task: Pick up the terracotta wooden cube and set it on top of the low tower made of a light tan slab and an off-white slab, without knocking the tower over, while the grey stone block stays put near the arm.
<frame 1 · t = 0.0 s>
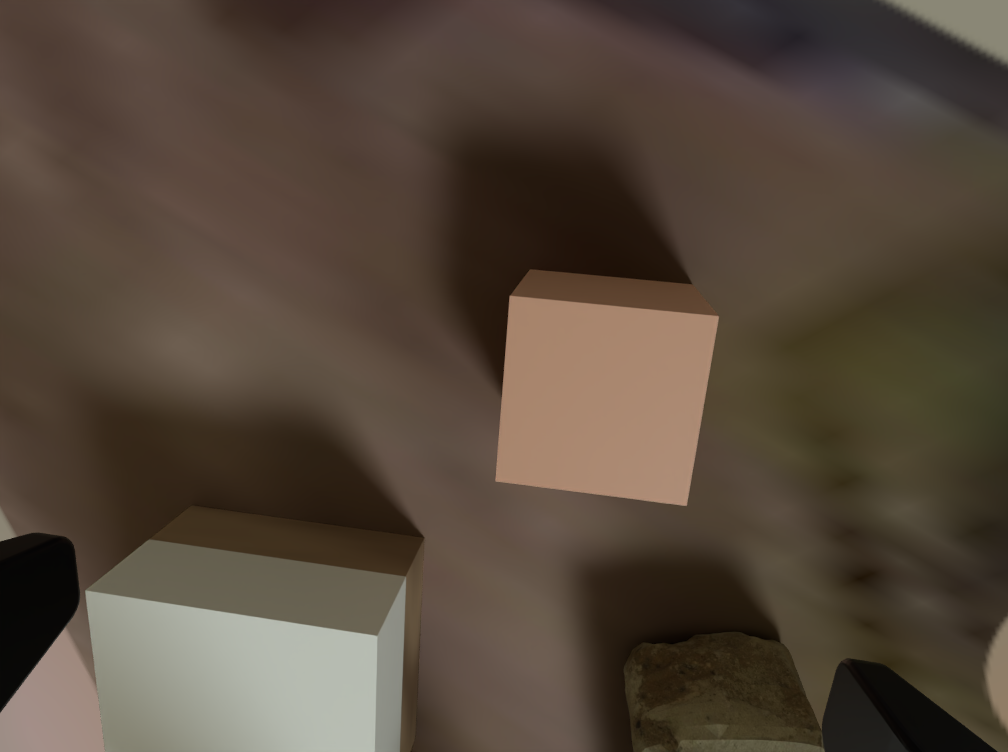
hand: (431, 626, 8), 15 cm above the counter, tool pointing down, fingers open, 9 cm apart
tower top: (277, 669, 24), point 3 cm above the counter
stone block: (714, 747, 26), on the counter
cube: (600, 353, 22), on the counter
tower bottom: (311, 617, 27), on the counter
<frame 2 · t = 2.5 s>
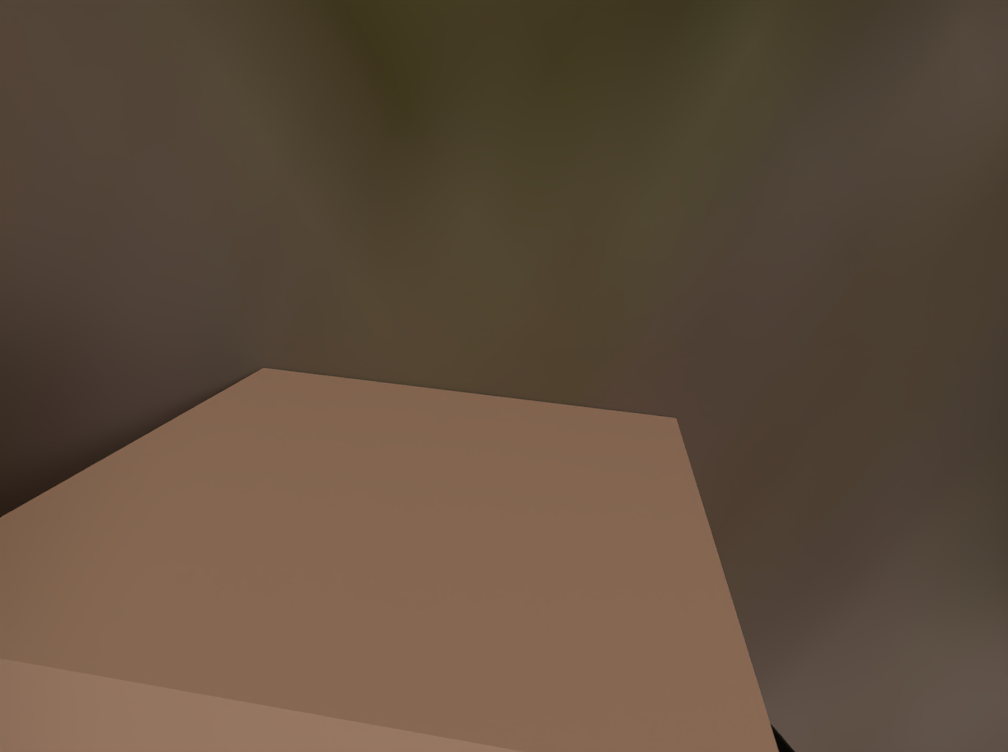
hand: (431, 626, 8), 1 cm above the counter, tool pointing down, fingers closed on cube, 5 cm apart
cube: (450, 574, 9), on the counter, touching gripper
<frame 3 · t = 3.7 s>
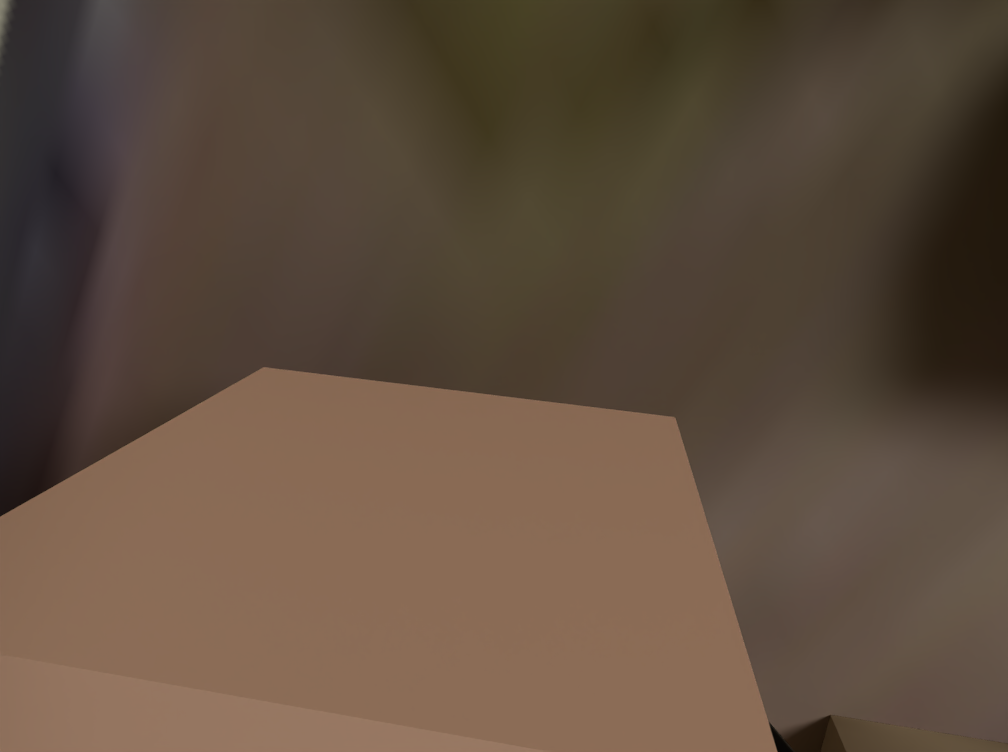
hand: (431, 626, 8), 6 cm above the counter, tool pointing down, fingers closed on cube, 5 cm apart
cube: (450, 572, 9), point 5 cm above the counter, touching gripper
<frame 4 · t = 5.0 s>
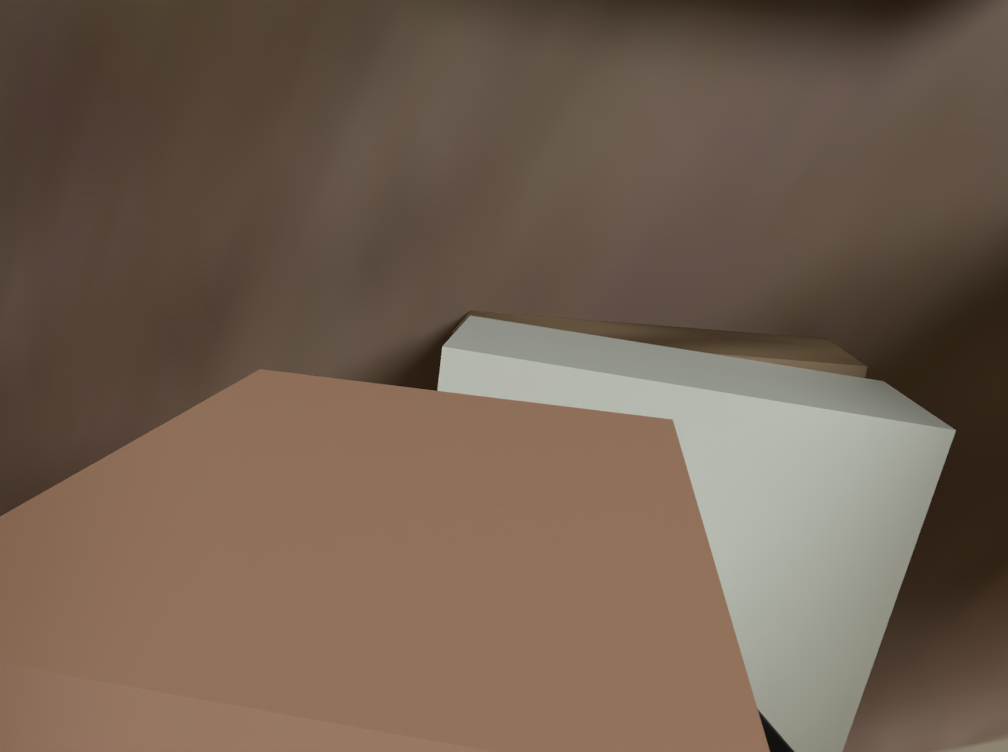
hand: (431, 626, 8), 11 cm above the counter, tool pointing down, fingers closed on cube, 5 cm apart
tower top: (632, 529, 16), point 3 cm above the counter
cube: (447, 575, 9), point 10 cm above the counter, touching gripper
tower bottom: (624, 477, 19), on the counter
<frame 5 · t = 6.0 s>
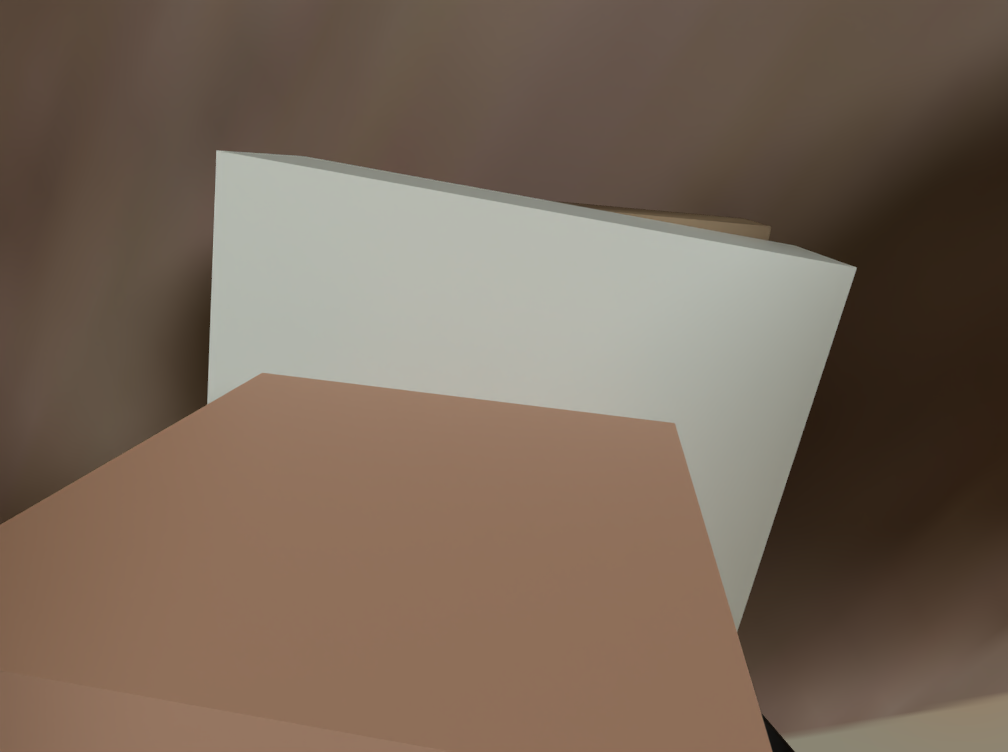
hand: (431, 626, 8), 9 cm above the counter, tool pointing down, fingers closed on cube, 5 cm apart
tower top: (500, 428, 14), point 2 cm above the counter, touching tower bottom
cube: (449, 578, 9), point 7 cm above the counter, touching gripper
tower bottom: (514, 388, 16), on the counter, touching tower top
when the fingers open (8 cm above the counter, at t = 6.6 s): cube drops 2 cm, resting on tower top.
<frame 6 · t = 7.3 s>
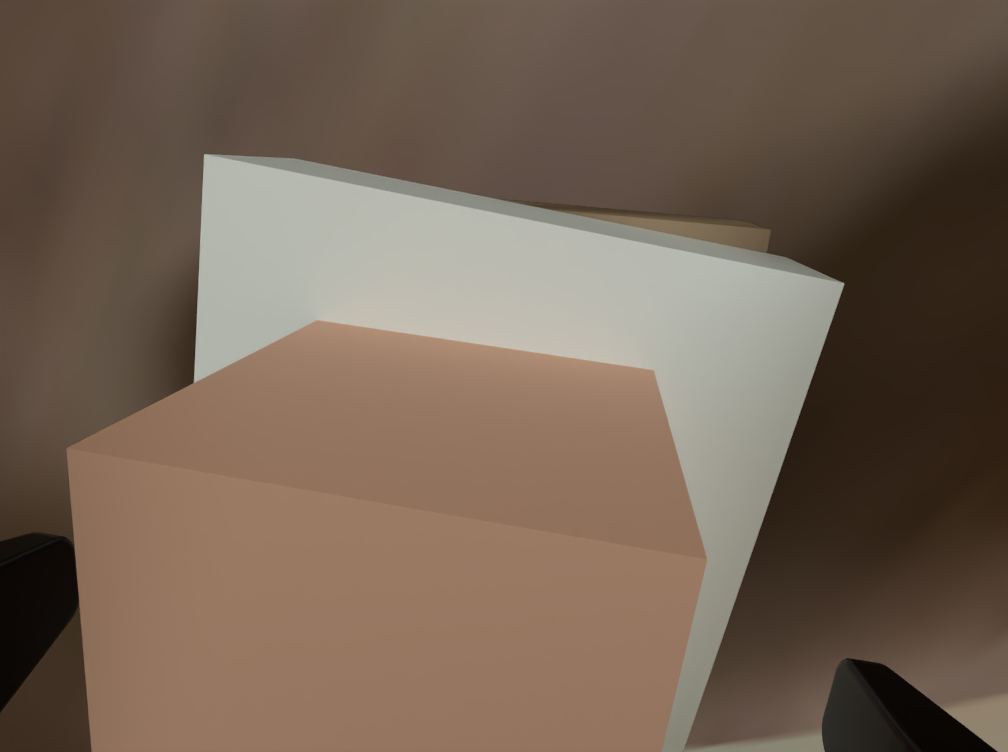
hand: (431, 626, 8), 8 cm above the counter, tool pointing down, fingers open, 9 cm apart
tower top: (489, 434, 13), point 3 cm above the counter, touching cube, tower bottom
cube: (464, 497, 11), point 6 cm above the counter, touching tower top
tower bottom: (513, 391, 16), on the counter, touching tower top
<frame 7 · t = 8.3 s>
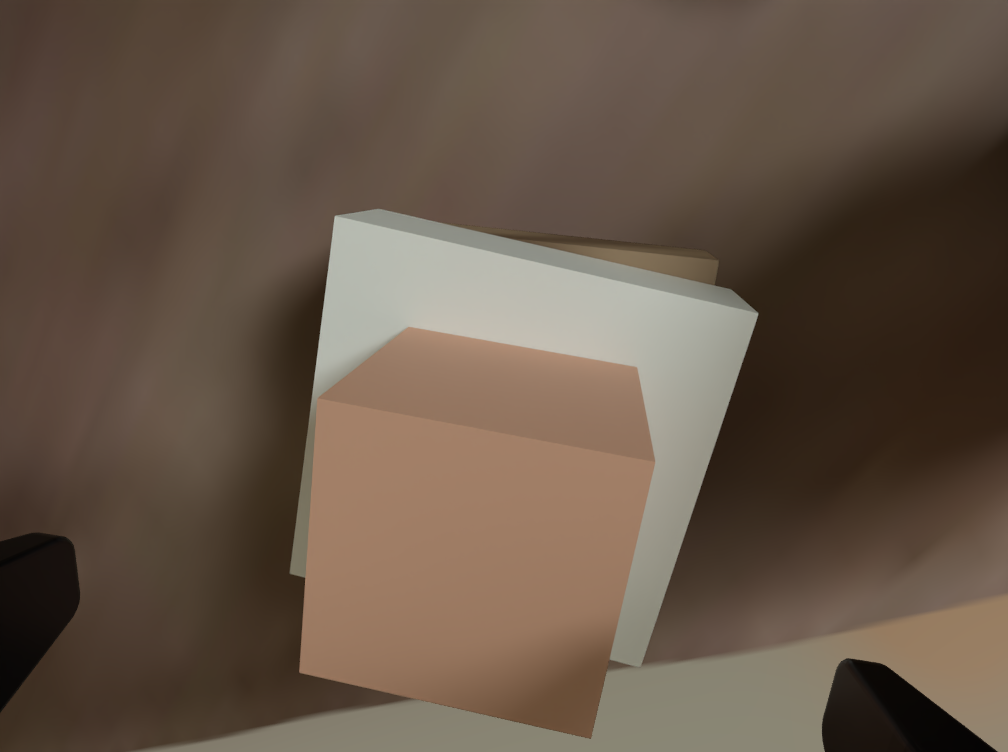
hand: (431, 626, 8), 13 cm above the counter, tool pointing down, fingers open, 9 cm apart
tower top: (514, 413, 18), point 2 cm above the counter, touching tower bottom
cube: (504, 452, 15), point 5 cm above the counter
tower bottom: (528, 378, 21), on the counter, touching tower top
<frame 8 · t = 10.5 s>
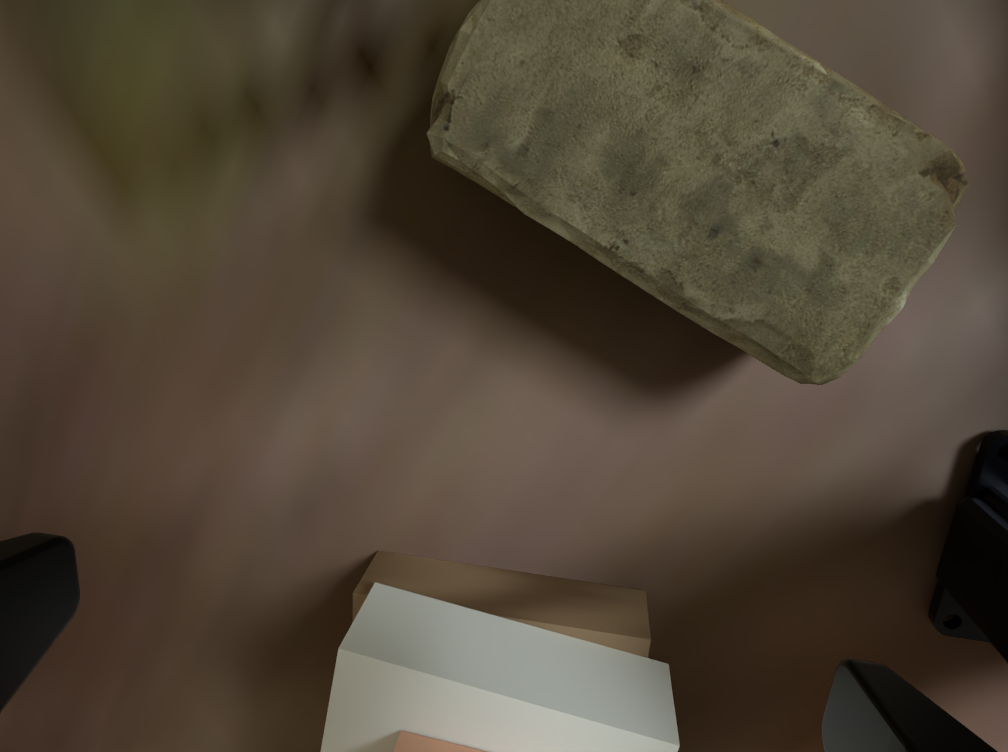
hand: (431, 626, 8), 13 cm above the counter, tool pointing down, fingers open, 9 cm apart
tower top: (488, 738, 21), point 2 cm above the counter, touching cube
stone block: (666, 161, 19), on the counter
tower bottom: (500, 670, 24), on the counter
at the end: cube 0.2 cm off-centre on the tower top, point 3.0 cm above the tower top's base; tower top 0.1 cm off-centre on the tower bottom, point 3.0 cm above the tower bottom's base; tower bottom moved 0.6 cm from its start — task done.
